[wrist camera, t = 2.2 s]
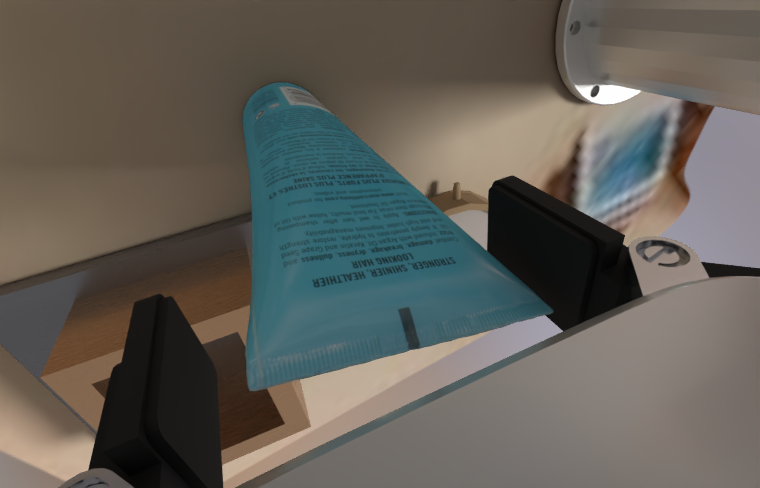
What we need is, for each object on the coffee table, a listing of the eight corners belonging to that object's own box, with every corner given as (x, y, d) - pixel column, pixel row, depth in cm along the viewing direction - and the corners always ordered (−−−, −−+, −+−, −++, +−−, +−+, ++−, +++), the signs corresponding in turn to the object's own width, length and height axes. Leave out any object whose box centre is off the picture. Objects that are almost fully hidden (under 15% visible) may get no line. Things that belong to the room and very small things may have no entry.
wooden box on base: (306, 196, 27) (332, 249, 21) (348, 347, 36) (374, 413, 30) (-28, 294, 22) (-110, 395, 17) (117, 438, 31) (97, 535, 26)
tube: (232, 170, 24) (274, 462, 9) (210, 88, 21) (216, 302, 6) (346, 151, 26) (540, 362, 11) (339, 75, 23) (583, 209, 8)
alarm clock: (486, 169, 28) (562, 296, 34) (457, 157, 32) (529, 272, 39) (366, 267, 28) (464, 373, 35) (353, 242, 33) (442, 340, 39)
